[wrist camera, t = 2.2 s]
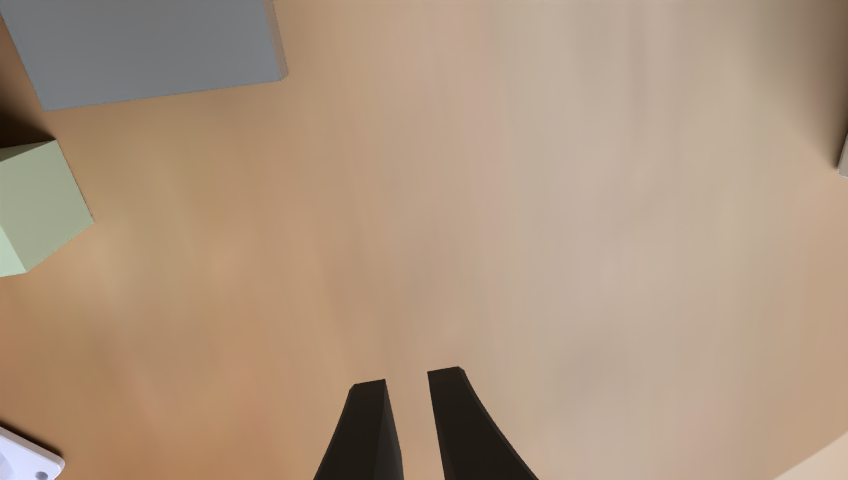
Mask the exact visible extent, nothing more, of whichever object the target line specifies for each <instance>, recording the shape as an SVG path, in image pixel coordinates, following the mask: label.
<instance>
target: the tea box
mask: <svg viewBox="0 0 848 480" xmlns="http://www.w3.org/2000/svg"><path fill="white" fill-rule="evenodd" d="M838 169H839V174H840V175H841V176H842V177H845V178H847V179H848V134H847V137H846V140H845V144H844V147H843V150H842V154H841V157H840V161H839V164H838Z"/></svg>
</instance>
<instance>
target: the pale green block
mask: <svg viewBox="0 0 848 480" xmlns="http://www.w3.org/2000/svg"><path fill="white" fill-rule="evenodd" d="M92 223H94V221H93V218H92V216H91V214H90V212H89V210H88V208H87V205H86V203H85V201H84V199H83V197H82V195H81V192H80V190H79V188H78V186H77V184H76V182H75V179H74V177H73V175H72V173H71V171H70V169H69V166H68V164H67V162H66V160H65V158H64V156H63V153H62V151H61V149H60V147H59V145H58V143H57V140H52V141H46V142H39V143H33V144H27V145H20V146H14V147H7V148H1V149H0V277H3V276H9V275H15V274H21V273H27V272H28V271H30V270H31V269H32V268H34V267H35V266H36V265H38V264H39V263H40V262H42V261H43V260H44V259H46V258H47V257H48V256H50V255H51V254H52V253H54V252H55V251H56V250H58V249H59V248H60V247H62V246H63V245H64V244H66V243H67V242H68V241H70V240H71V239H72V238H74V237H75V236H76V235H78V234H79V233H80V232H82V231H83V230H84V229H86V228H87V227H88V226H90V225H91V224H92Z"/></svg>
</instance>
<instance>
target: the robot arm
mask: <svg viewBox="0 0 848 480" xmlns="http://www.w3.org/2000/svg"><path fill="white" fill-rule="evenodd" d="M427 374H428V380H429V387H430V393H431V400H432V406H433V412H434V418H435V424H436V429H437V435H438V441H439V447H440V453H441V459H442V465H443V471H444V477H445V480H539V479H538V478H537V477H536V476H535V475H534V473H533V472H532V471H531V470H530V469H529V467H528V466H527V465H526V464H525V462H524V461H523V460H522V459H521V457H520V456H519V455H518V454H517V452H516V451H515V450H514V448H513V447H512V446H511V444H510V443H509V442H508V440H507V439H506V438H505V436H504V435H503V433H502V432H501V431H500V429H499V428H498V427H497V425H496V424H495V422H494V421H493V420H492V418H491V417H490V415H489V414H488V412H487V411H486V409H485V407H484V406H483V404H482V403H481V401H480V400H479V398H478V396H477V395H476V393H475V391H474V389H473V388H472V386H471V384H470V382H469V380H468V378H467V376H466V374H465V371H464V370H463V369H461V368H460V367H458V366H457V367H451V368H445V369H439V370H434V371H428V372H427ZM64 466H65V462H64V461H63V459H62V458H61V457H59V456H57V455H55V454H53V453H51V452H49V451H47V450H45V449H43V448H41V447H39V446H37V445H36V444H34V443H32V442H30V441H28V440H26V439H24V438H22V437H20V436H18V435H16V434H14V433H12V432H10V431H8V430H6V429H4V428H2V427H0V480H54V479H55V478H56V477H57V476H58V475H59V474H60V472H61V471H62V469H63V468H64ZM313 480H404V476H403V466H402V456H401V450H400V446H399V441H398V436H397V432H396V427H395V422H394V418H393V413H392V409H391V404H390V399H389V395H388V390H387V386H386V381H385V379H382V380H376V381H370V382H364V383H359V384H354V385H353V386H352V388H351V389H350V390H349V393H348V397H347V400H346V403H345V406H344V408H343V411H342V414H341V417H340V419H339V422H338V424H337V427H336V429H335V432H334V434H333V437H332V439H331V442H330V444H329V446H328V448H327V451H326V453H325V455H324V457H323V459H322V462H321V464H320V466H319V468H318V471H317V473H316V475H315V477H314V479H313Z"/></svg>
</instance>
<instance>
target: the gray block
mask: <svg viewBox="0 0 848 480" xmlns="http://www.w3.org/2000/svg"><path fill="white" fill-rule="evenodd" d="M0 13H1V15H2V17H3V19H4V22H5V24H6V26H7V29H8V31H9V33H10V35H11V38H12V40H13V42H14V44H15V47H16V49H17V51H18V54H19V56H20V58H21V60H22V63H23V65H24V67H25V69H26V72H27V74H28V76H29V79H30V81H31V83H32V85H33V88H34V90H35V92H36V94H37V97H38V99H39V101H40V104H41V106H42V108H43V110H44V112H45V111H53V110H60V109H68V108H76V107H83V106H91V105H98V104H106V103H114V102H121V101H129V100H136V99H144V98H152V97H159V96H167V95H175V94H182V93H190V92H197V91H205V90H213V89H220V88H228V87H235V86H243V85H251V84H258V83H266V82H274V81H281V80H283V79H284V78H285V77H287V76H288V75H289V72H288V68H287V63H286V59H285V54H284V50H283V45H282V41H281V36H280V31H279V27H278V22H277V18H276V13H275V9H274V4H273V0H0Z"/></svg>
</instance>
